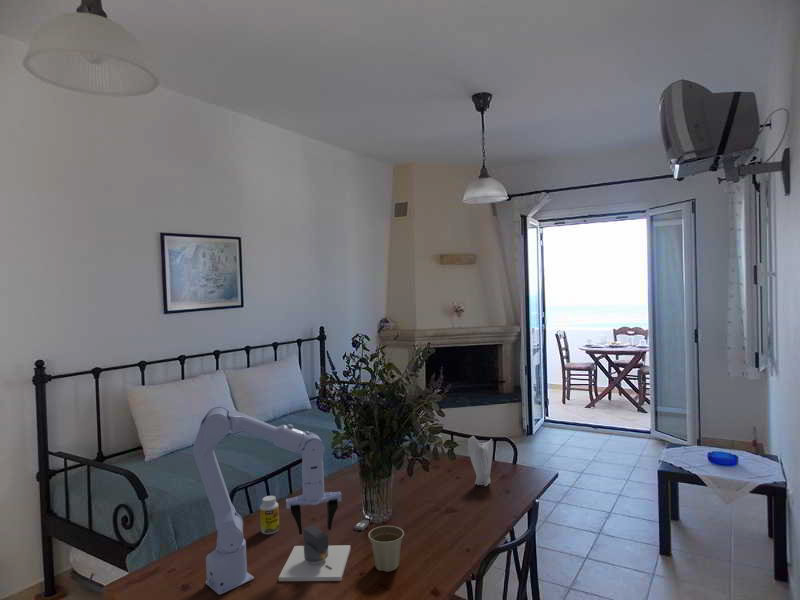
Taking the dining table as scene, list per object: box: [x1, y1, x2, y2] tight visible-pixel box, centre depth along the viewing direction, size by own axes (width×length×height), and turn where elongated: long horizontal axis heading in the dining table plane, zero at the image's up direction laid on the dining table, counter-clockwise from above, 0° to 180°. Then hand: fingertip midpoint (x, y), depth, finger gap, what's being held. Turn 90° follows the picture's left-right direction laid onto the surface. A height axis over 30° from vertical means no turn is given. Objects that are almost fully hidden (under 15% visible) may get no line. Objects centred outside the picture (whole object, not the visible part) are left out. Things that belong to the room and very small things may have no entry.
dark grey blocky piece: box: [302, 524, 329, 562], centre depth 137 cm, size 8×6×6 cm
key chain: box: [353, 519, 370, 532], centre depth 162 cm, size 13×4×2 cm, turn 158°
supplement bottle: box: [259, 495, 280, 535], centre depth 158 cm, size 6×6×10 cm
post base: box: [278, 544, 352, 582], centre depth 138 cm, size 16×16×2 cm
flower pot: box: [367, 525, 405, 572], centre depth 135 cm, size 9×9×9 cm
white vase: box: [467, 435, 494, 487], centre depth 189 cm, size 8×8×18 cm
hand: (315, 530), depth 137 cm, fingers open, 7 cm apart
